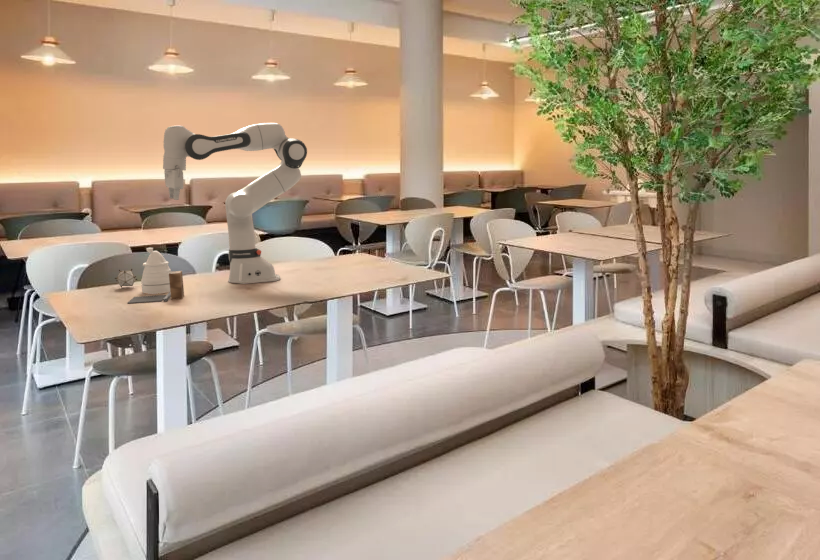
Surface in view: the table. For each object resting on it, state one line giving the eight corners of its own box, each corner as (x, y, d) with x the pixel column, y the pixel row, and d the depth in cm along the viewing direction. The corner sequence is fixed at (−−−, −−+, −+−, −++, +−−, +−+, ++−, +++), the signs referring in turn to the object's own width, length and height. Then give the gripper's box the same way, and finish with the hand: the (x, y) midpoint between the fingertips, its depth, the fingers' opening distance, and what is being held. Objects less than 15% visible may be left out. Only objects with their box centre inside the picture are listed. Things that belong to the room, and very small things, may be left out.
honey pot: (143, 295, 254) (139, 250, 251) (140, 290, 266) (136, 247, 263) (177, 291, 260) (173, 247, 257) (173, 287, 271) (169, 245, 268)
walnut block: (184, 296, 250) (182, 270, 248) (182, 298, 244) (179, 273, 242) (173, 296, 249) (171, 271, 247) (171, 299, 243) (168, 273, 242)
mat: (166, 295, 251) (166, 294, 251) (161, 301, 240) (161, 300, 240) (134, 297, 249) (134, 296, 249) (127, 303, 237) (127, 302, 237)
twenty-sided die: (129, 297, 272) (126, 280, 265) (112, 289, 273) (108, 273, 266) (142, 283, 278) (140, 267, 271) (126, 276, 279) (122, 260, 272)
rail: (172, 294, 253) (172, 291, 253) (167, 301, 239) (166, 298, 239) (169, 295, 252) (169, 292, 252) (163, 301, 239) (163, 298, 239)
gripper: (187, 166, 256) (187, 201, 258) (177, 165, 273) (177, 198, 275) (171, 165, 253) (170, 200, 255) (162, 164, 270) (161, 197, 272)
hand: (173, 199), depth 265 cm, fingers open, 8 cm apart
